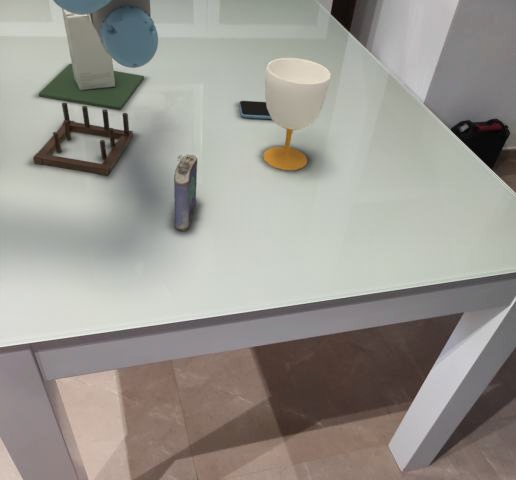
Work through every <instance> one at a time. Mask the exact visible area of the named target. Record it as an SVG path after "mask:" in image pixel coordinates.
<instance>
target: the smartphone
mask: <svg viewBox="0 0 516 480" xmlns="http://www.w3.org/2000/svg"><path fill="white" fill-rule="evenodd" d="M238 106H239V112H240V116H241V117H242V118H245V119H246V118H247V119H265V120H266V119H267V120H272V118H271V116H270V114H269V112H268V109H267V106H266V101H257V100H255V101H253V100H240V101H239V103H238Z"/></svg>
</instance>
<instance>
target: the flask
mask: <svg viewBox="0 0 516 480" xmlns="http://www.w3.org/2000/svg"><path fill="white" fill-rule="evenodd" d="M177 161H178V163H177V164H176V168H175V171H174V176H173V182H174V183H173V187H174V188H173V190H174V191H173V192H174V193H173V195H174V196H173V197H174V202H173V203H174V218H173V219H174V220H173V221H174V222H173V223H174V224H173V225H174V228H175V230H177V231H183V232H185V231H187V230H188V229H189V228H190V223H191V221H192V219H193V215H192V214H193V213H194V210H195V208H196V206H197V203H196V202H197V179H198V177H197V174H198V157H197V156H196V155H194V154H186V155H182V154H179V155H178V156H177Z"/></svg>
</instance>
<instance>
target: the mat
mask: <svg viewBox="0 0 516 480" xmlns="http://www.w3.org/2000/svg"><path fill="white" fill-rule="evenodd" d="M114 78H115V87H107V88H97V89H87V90H80V89H79V87H78V85H77V83H76V81H75V79H74V73H73V68H72V63H69V64H68V65H67V66H66V67H65V68H64V69H62V71H60V72H59V73H58V74H57V75H56V76H55V77H54V78H53V79H52V80H51V81H49V83H48V84H47V85H46V86H45V87H44V88H43V89H42V90H40V92H38V97H42V98H47V99H53V100H58V101H64V102H70V103H75V104H83V105H88V106H95V107H99V108H106V109H112V110H117V111H121V110H122V109H123V108H124V106H125V105H126V104H127V102H128V101H129V100H130V98H131V97H132V96H133V94H134V93H135V91H136V90H137V89H138V87H139V86H140V85H141V83H142V82H143V80H145V76H144V75H141V74H135V73H129V72H124V71H123V72H122V71H116V70H114Z"/></svg>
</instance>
